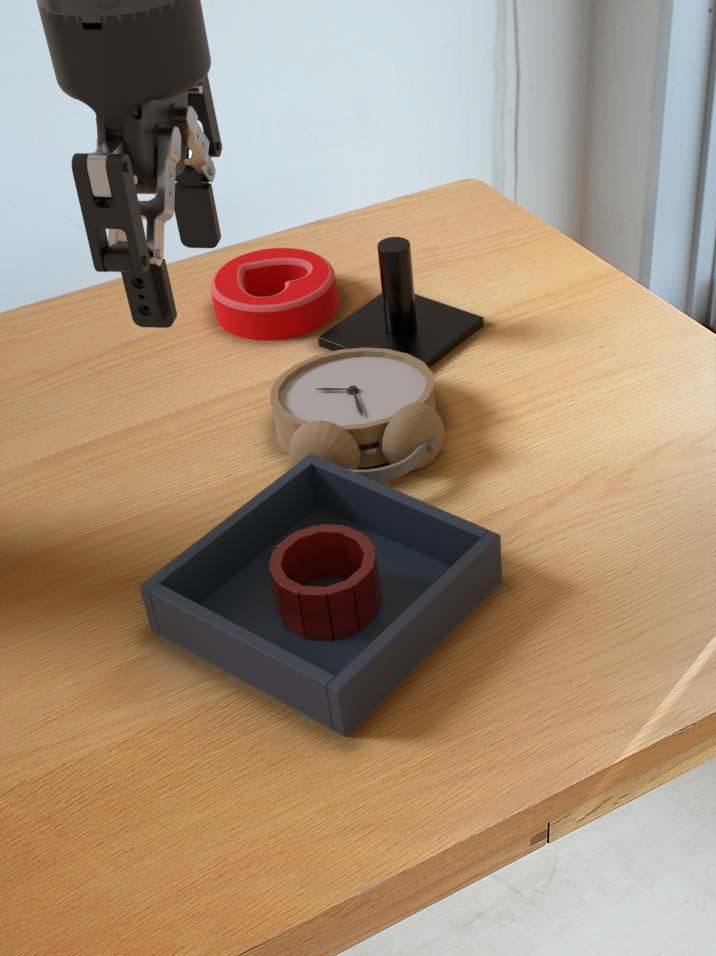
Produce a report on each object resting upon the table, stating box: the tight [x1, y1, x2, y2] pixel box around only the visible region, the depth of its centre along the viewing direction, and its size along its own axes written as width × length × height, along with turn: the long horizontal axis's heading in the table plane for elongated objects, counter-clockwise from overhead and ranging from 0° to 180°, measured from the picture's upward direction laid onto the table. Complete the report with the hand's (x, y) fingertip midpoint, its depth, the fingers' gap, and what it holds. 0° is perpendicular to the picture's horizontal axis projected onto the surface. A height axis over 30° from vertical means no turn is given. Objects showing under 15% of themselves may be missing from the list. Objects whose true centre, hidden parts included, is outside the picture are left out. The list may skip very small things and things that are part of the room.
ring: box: [268, 524, 382, 641], centre depth 76 cm, size 6×6×4 cm
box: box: [139, 453, 503, 738], centre depth 77 cm, size 15×15×4 cm
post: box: [317, 236, 485, 369], centre depth 98 cm, size 9×9×8 cm
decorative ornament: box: [210, 247, 339, 342], centre depth 104 cm, size 10×10×3 cm
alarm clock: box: [269, 348, 445, 484], centre depth 89 cm, size 11×5×15 cm
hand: (180, 283), depth 73 cm, fingers open, 8 cm apart
